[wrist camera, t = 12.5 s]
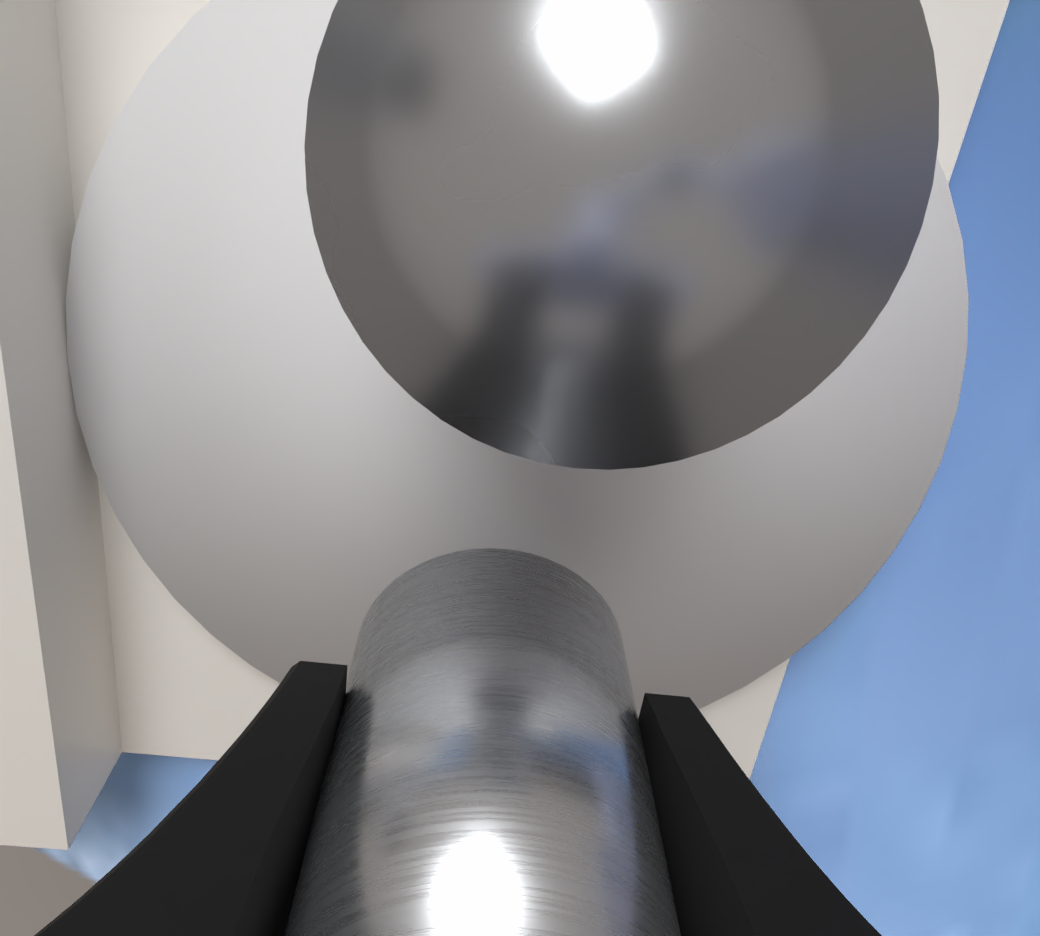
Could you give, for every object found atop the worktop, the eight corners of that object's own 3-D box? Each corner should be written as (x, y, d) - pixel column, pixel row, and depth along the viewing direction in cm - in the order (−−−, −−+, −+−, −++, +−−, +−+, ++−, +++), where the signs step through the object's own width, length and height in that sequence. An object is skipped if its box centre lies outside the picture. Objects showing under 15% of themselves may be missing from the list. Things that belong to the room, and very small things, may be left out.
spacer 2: (662, 585, 12) (788, 1016, 7) (574, 781, 14) (619, 1249, 8) (389, 518, 12) (290, 929, 6) (332, 731, 13) (216, 1197, 8)
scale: (1095, -144, 11) (1334, -229, 8) (775, 770, 18) (834, 923, 15) (-292, -386, 10) (-676, -605, 7) (-67, 697, 17) (-203, 847, 13)
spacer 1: (782, 59, 11) (1077, 55, 5) (611, 332, 12) (698, 552, 7) (500, -134, 10) (497, -389, 4) (352, 186, 11) (209, 305, 6)
